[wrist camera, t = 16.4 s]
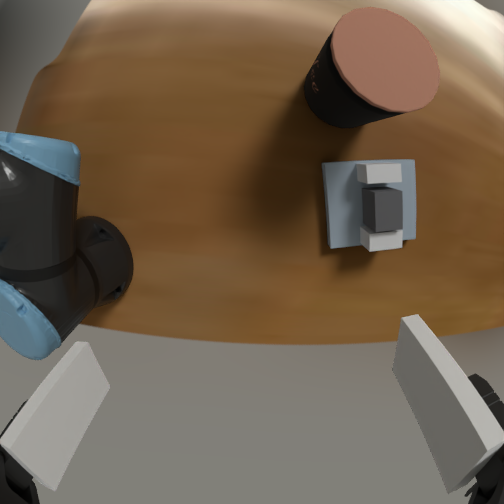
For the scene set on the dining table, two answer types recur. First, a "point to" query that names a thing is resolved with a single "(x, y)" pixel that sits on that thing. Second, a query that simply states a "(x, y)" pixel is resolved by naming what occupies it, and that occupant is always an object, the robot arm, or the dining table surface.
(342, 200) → the board
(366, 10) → the coffee jar
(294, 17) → the dining table surface
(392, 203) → the dark gray block
